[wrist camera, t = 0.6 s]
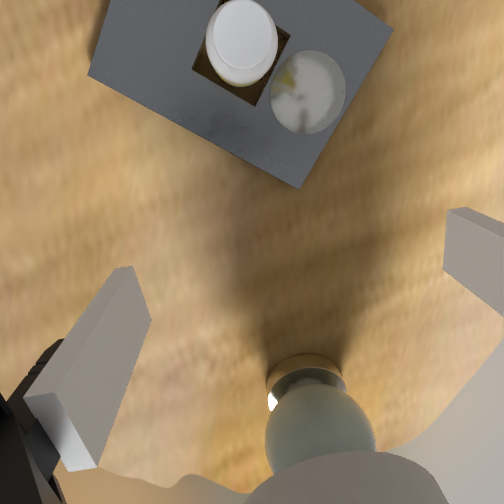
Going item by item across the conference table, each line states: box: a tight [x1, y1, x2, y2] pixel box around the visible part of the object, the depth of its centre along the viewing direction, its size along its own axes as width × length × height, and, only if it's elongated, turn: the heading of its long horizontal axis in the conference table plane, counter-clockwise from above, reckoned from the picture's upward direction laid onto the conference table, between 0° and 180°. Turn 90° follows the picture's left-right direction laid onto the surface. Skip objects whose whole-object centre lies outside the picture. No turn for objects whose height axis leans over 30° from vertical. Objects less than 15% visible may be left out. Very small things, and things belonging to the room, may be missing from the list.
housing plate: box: [88, 0, 394, 189], centre depth 30 cm, size 22×16×2 cm
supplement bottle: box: [206, 0, 278, 87], centre depth 26 cm, size 5×5×10 cm
